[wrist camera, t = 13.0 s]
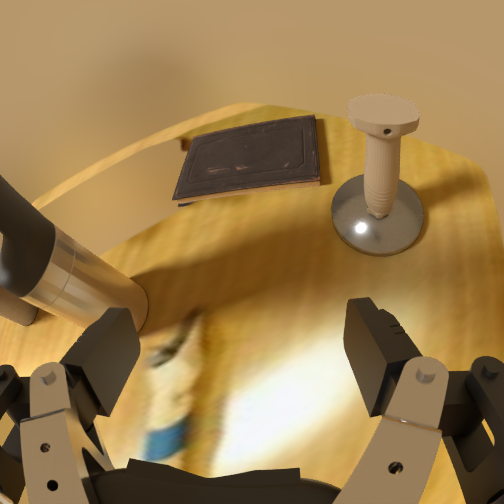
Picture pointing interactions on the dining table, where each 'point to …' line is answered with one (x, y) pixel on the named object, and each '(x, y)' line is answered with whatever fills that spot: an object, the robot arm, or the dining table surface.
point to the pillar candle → (16, 308)
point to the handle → (382, 144)
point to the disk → (376, 220)
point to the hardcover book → (250, 160)
